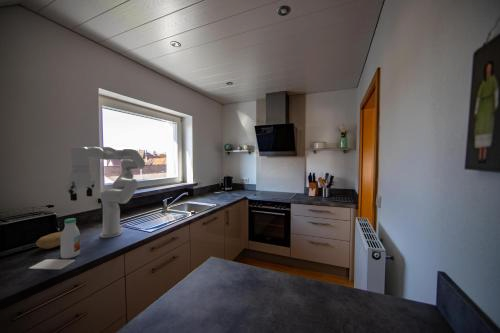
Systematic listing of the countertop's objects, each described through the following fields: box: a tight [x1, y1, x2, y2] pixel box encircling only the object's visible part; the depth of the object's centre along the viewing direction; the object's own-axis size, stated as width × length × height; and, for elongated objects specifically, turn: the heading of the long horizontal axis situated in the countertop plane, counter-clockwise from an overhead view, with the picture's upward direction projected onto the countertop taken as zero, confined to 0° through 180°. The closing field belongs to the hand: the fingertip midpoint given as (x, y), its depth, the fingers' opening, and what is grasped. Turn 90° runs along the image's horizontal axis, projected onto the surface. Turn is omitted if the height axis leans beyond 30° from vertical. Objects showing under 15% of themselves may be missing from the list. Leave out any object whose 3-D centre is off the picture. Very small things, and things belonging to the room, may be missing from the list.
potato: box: [35, 231, 62, 250], centre depth 114 cm, size 10×14×8 cm
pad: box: [28, 258, 76, 270], centre depth 96 cm, size 8×15×1 cm, turn 91°
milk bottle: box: [60, 217, 81, 260], centre depth 105 cm, size 8×8×20 cm
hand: (82, 198), depth 111 cm, fingers open, 9 cm apart
